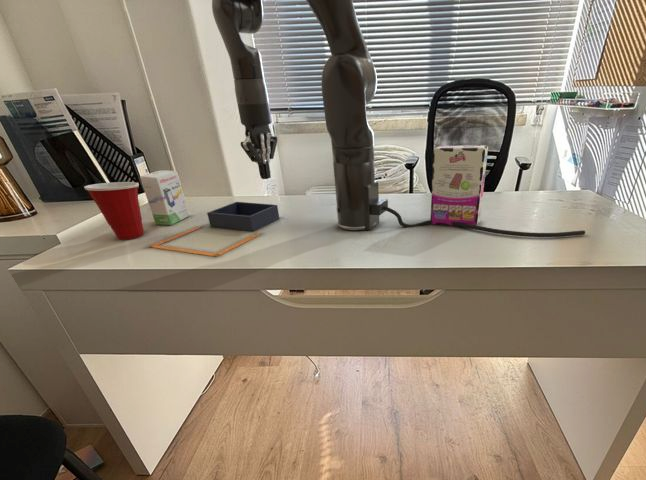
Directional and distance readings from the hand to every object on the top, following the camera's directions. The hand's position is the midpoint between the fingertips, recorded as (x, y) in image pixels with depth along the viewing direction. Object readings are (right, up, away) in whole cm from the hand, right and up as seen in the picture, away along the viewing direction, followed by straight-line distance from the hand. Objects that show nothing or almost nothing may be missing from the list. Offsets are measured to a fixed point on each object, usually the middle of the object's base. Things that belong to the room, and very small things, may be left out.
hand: (266, 178), depth 103 cm
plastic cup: (-30, -18, -9) cm, 36 cm away
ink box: (-25, -11, 0) cm, 27 cm away
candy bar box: (+48, -16, -11) cm, 52 cm away
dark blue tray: (-4, -13, -4) cm, 14 cm away
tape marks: (-10, -21, -15) cm, 27 cm away
